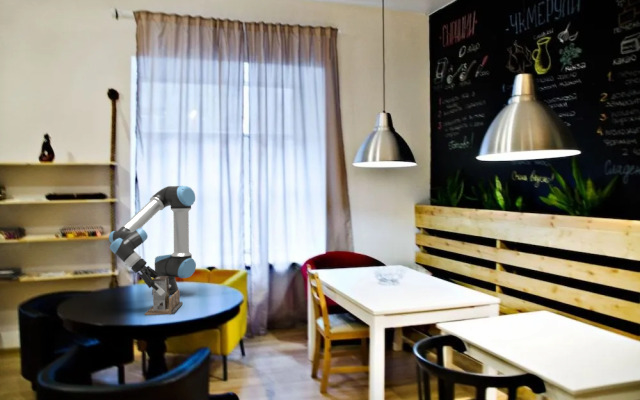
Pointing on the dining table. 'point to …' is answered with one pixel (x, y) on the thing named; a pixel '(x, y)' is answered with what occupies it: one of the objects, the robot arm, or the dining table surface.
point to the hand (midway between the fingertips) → (166, 291)
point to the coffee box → (162, 300)
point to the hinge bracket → (173, 305)
